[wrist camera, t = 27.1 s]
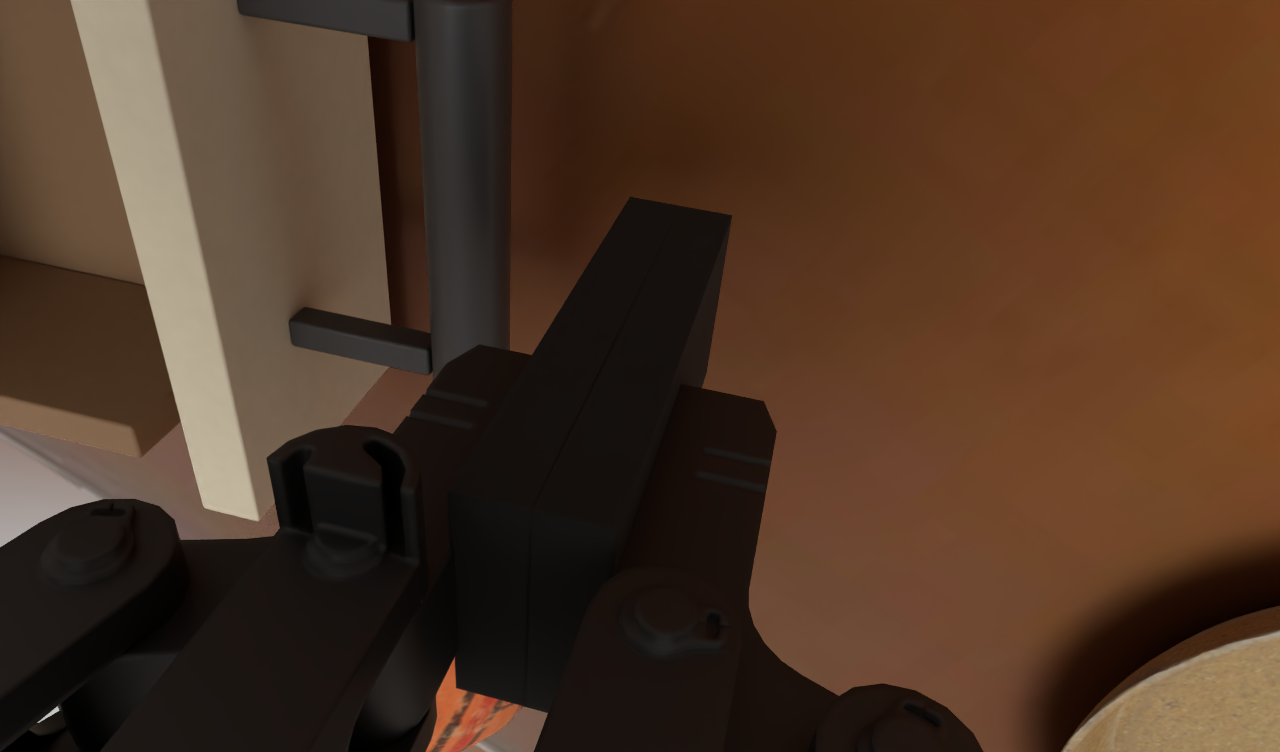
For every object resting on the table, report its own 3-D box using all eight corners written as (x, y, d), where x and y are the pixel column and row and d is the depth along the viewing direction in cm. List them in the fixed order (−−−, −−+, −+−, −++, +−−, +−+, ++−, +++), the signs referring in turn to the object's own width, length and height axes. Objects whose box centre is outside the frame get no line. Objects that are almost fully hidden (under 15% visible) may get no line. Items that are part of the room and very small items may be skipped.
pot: (337, 632, 30) (195, 786, 23) (338, 420, 27) (177, 530, 21) (565, 697, 28) (479, 878, 22) (592, 480, 25) (502, 618, 19)
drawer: (590, -233, 14) (440, -233, 9) (560, 397, 21) (465, 574, 17) (-289, -336, 16) (-763, -378, 12) (-49, 264, 23) (-283, 388, 19)
